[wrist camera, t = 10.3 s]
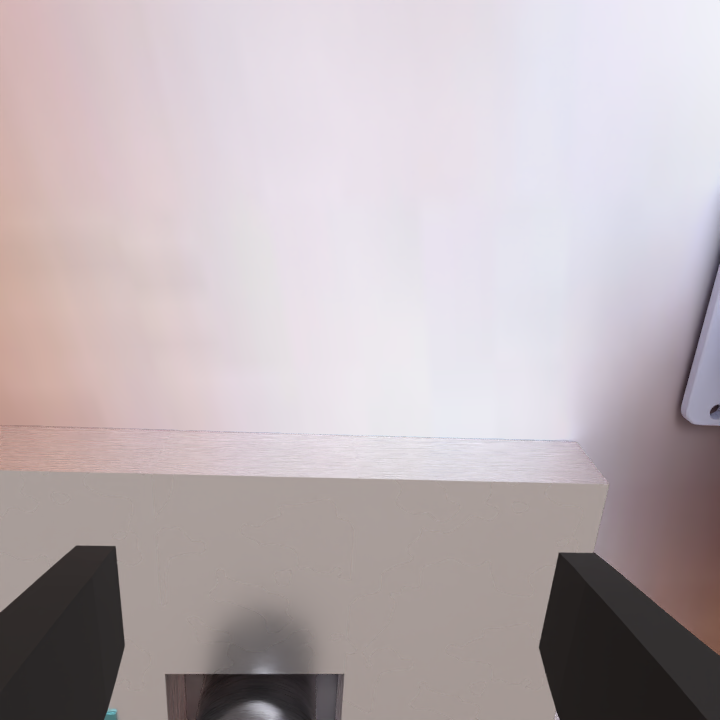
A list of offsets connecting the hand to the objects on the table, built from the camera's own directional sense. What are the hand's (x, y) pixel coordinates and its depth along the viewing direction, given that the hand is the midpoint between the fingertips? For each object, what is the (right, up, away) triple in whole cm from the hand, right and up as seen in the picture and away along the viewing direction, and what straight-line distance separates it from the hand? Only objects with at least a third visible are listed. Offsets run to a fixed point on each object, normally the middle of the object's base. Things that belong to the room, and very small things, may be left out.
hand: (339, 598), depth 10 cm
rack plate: (-3, -6, +12) cm, 14 cm away
